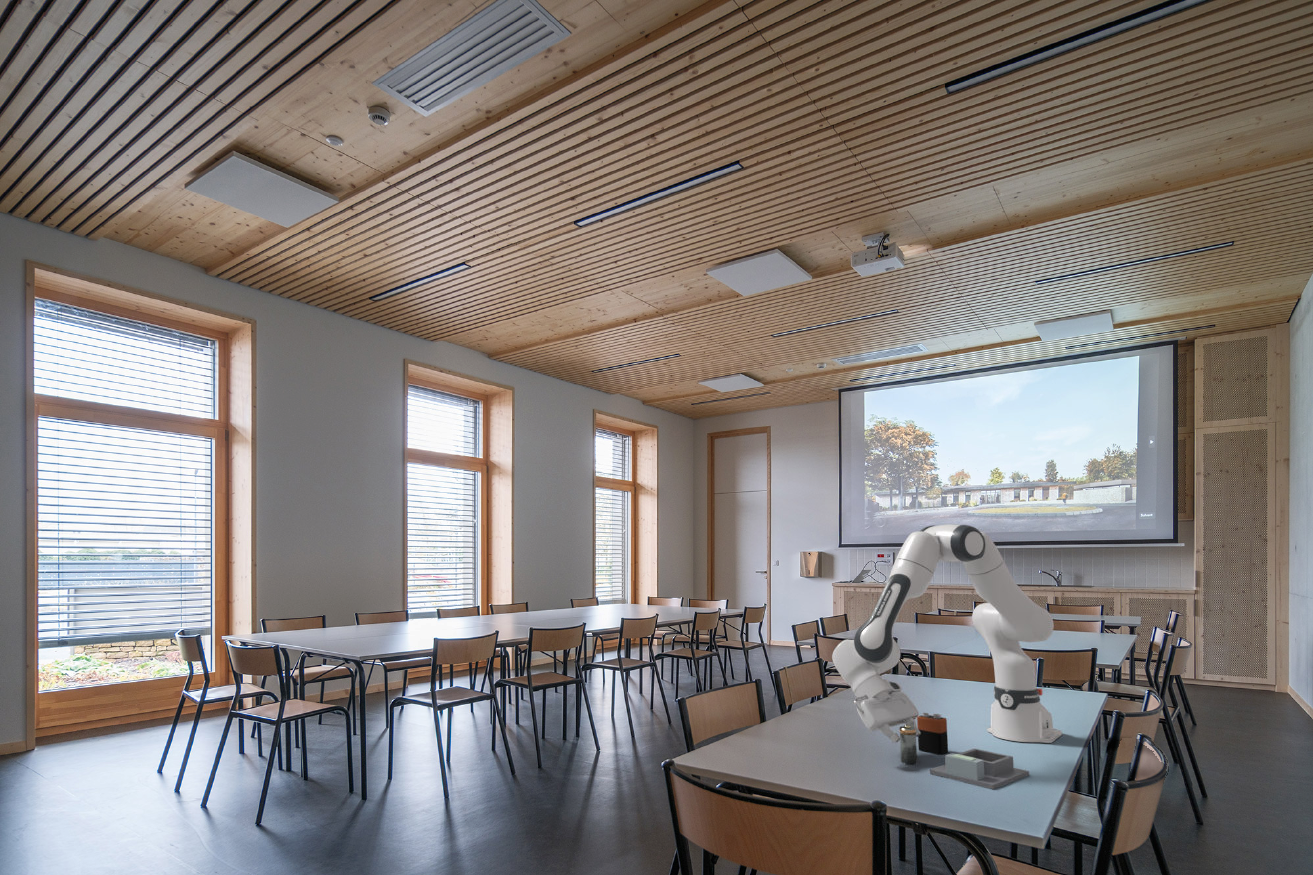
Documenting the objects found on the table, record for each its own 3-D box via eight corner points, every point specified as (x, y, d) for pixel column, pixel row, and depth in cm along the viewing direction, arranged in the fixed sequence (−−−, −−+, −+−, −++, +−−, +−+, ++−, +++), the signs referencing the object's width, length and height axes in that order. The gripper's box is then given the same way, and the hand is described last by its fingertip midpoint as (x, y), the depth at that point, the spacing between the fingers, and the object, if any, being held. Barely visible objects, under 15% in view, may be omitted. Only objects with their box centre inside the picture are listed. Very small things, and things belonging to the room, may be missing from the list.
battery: (941, 755, 204) (939, 716, 206) (917, 750, 209) (916, 712, 211) (948, 752, 207) (947, 714, 208) (925, 747, 212) (924, 710, 213)
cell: (906, 759, 200) (905, 723, 201) (920, 762, 197) (918, 725, 198) (897, 762, 197) (896, 725, 199) (911, 765, 194) (910, 728, 196)
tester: (967, 761, 198) (966, 740, 199) (1029, 775, 186) (1027, 753, 187) (930, 773, 187) (929, 751, 188) (993, 789, 175) (991, 765, 176)
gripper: (857, 691, 199) (891, 737, 190) (902, 682, 212) (935, 725, 203) (844, 706, 202) (877, 751, 193) (888, 697, 215) (921, 739, 206)
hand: (907, 738), depth 198 cm, fingers open, 8 cm apart
